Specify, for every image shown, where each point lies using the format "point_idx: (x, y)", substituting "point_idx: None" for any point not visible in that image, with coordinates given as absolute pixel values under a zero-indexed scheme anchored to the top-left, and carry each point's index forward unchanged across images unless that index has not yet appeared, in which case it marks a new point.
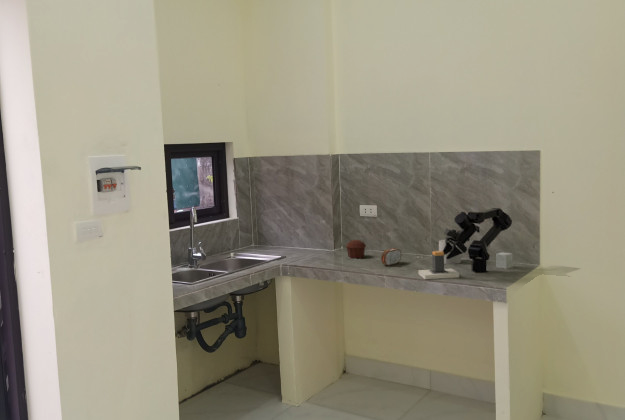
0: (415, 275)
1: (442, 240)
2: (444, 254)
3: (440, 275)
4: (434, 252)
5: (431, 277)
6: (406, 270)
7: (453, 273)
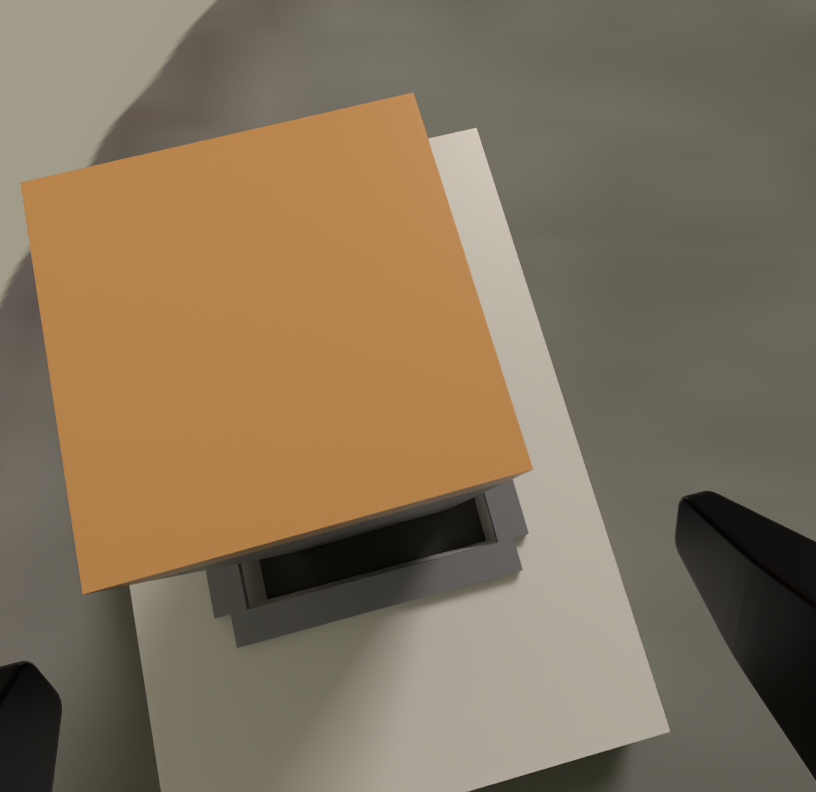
0: None
1: None
2: (719, 624)
3: None
4: (114, 163)
5: None
6: (739, 15)
7: (158, 741)
